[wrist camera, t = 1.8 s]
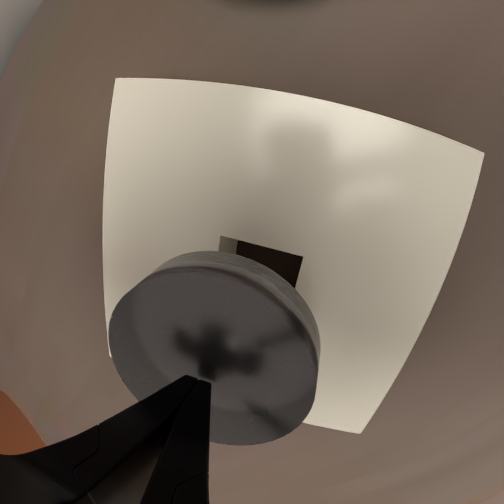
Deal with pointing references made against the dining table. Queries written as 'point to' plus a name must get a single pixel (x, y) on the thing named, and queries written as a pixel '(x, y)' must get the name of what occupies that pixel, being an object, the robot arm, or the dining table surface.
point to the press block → (292, 213)
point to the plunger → (221, 342)
